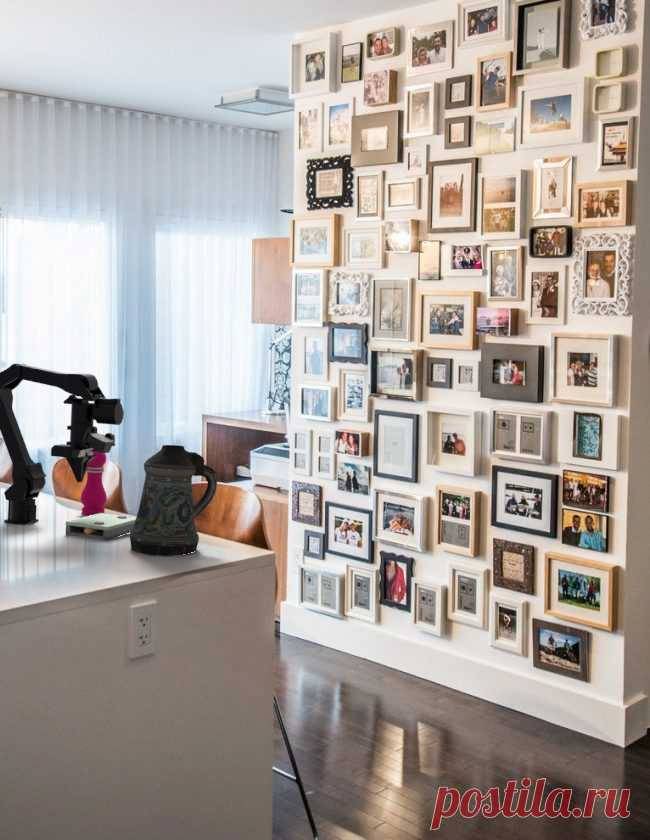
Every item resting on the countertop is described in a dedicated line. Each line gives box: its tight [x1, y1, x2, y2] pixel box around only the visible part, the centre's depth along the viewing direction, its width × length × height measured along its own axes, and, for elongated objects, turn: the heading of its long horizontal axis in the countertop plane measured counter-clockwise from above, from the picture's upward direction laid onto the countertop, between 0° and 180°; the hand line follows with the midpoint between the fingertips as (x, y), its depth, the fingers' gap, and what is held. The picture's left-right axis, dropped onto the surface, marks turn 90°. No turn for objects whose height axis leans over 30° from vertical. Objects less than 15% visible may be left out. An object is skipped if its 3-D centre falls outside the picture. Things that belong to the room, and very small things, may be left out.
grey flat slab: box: [65, 523, 134, 541], centre depth 259 cm, size 12×16×2 cm
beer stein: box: [129, 444, 218, 557], centre depth 243 cm, size 16×19×25 cm
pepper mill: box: [80, 451, 108, 516], centre depth 285 cm, size 7×7×20 cm
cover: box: [65, 512, 137, 530], centre depth 259 cm, size 12×16×1 cm
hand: (79, 482), depth 263 cm, fingers closed
